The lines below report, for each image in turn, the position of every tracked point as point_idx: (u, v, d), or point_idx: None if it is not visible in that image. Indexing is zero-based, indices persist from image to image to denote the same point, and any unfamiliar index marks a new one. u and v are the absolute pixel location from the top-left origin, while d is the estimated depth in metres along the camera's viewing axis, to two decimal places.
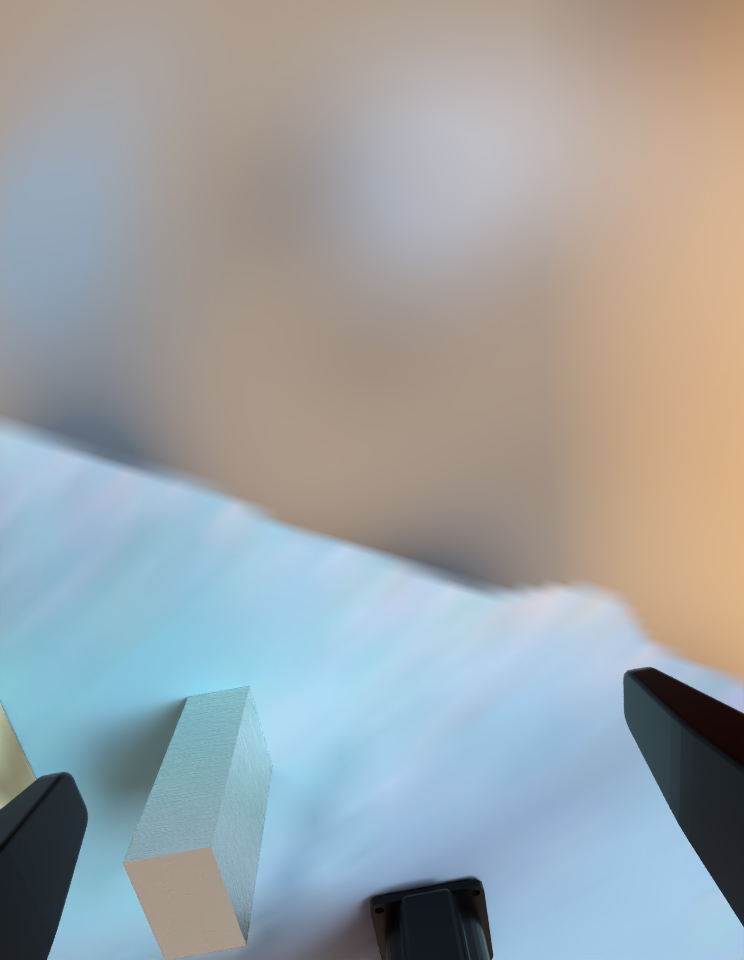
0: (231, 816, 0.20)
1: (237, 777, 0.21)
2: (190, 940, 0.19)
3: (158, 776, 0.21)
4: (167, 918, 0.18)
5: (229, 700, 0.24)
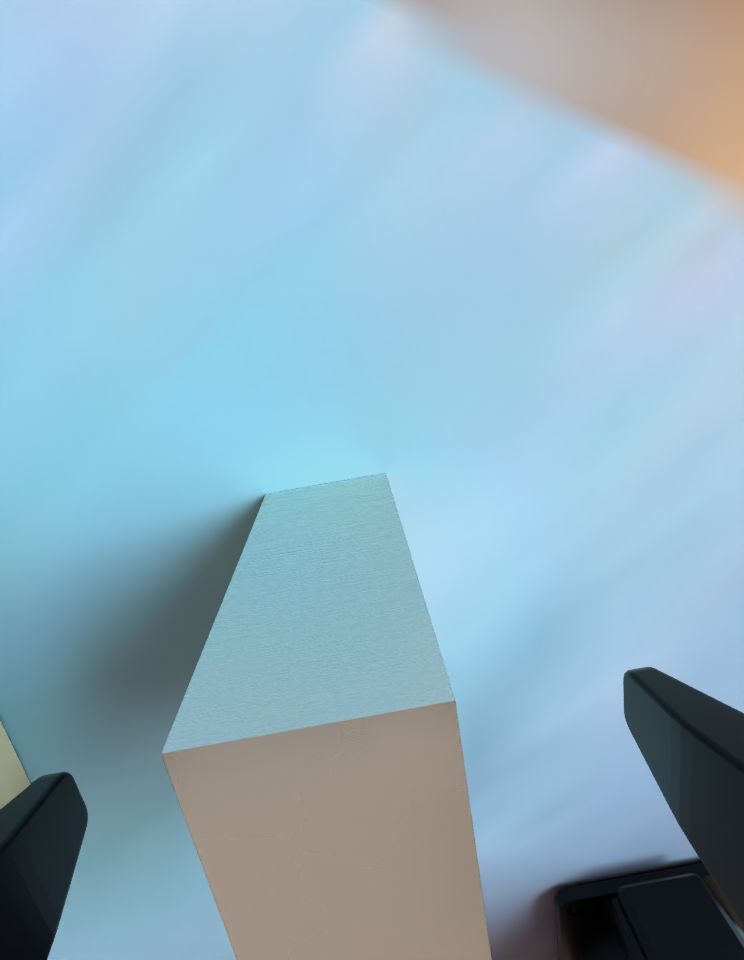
0: None
1: None
2: None
3: (233, 584, 0.09)
4: (287, 937, 0.06)
5: (353, 488, 0.12)
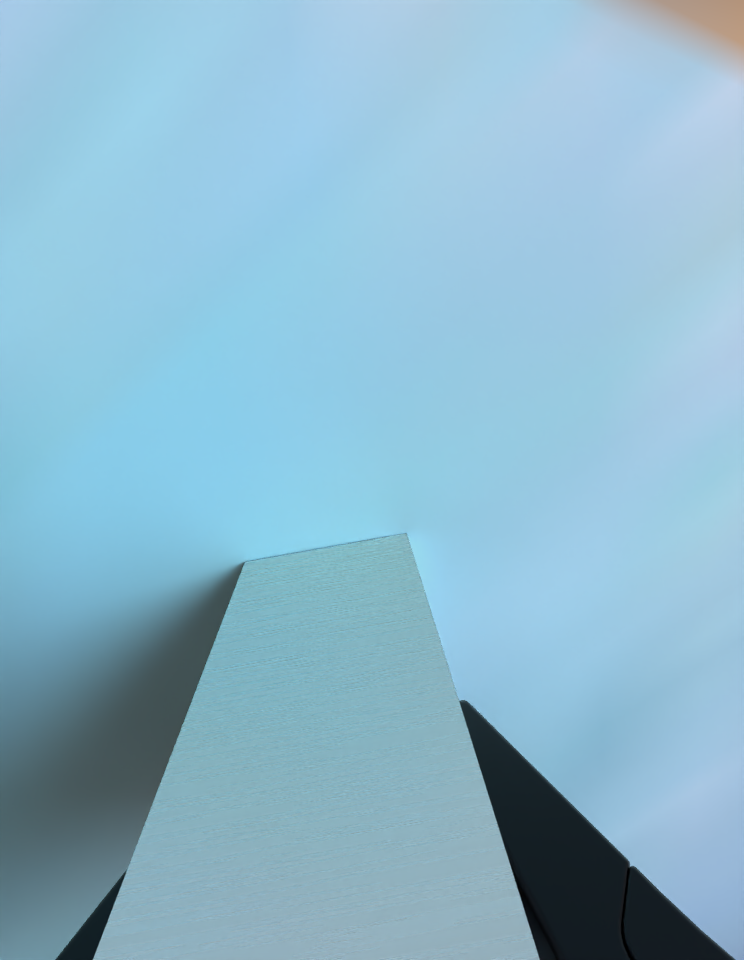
0: None
1: None
2: None
3: (173, 766, 0.05)
4: None
5: (364, 560, 0.09)
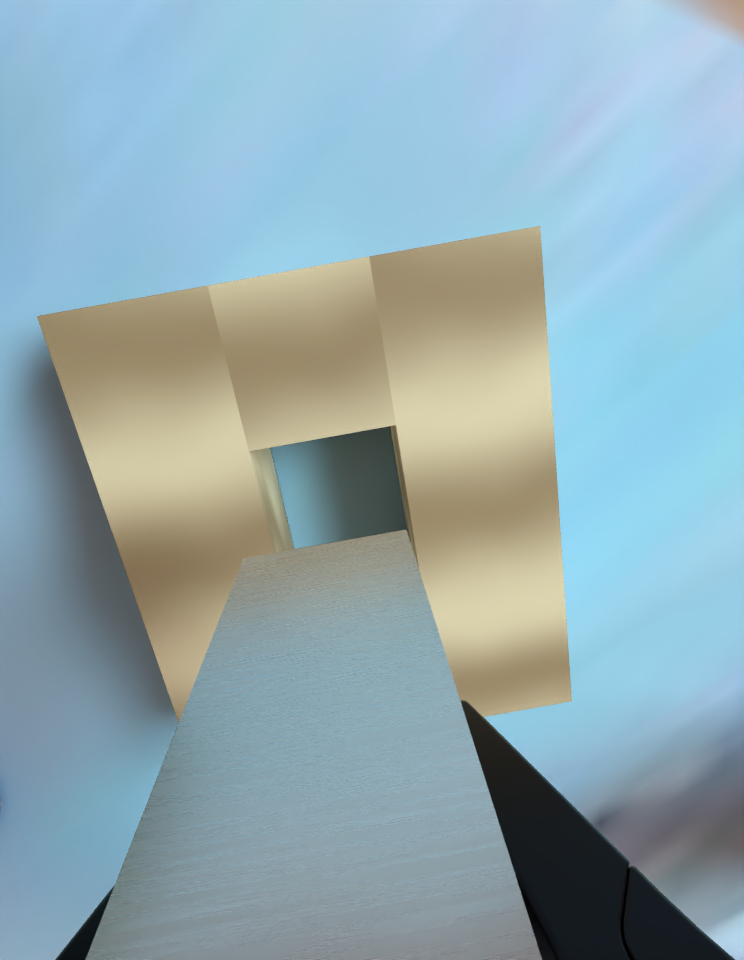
0: None
1: None
2: None
3: (170, 762, 0.05)
4: None
5: (363, 556, 0.09)
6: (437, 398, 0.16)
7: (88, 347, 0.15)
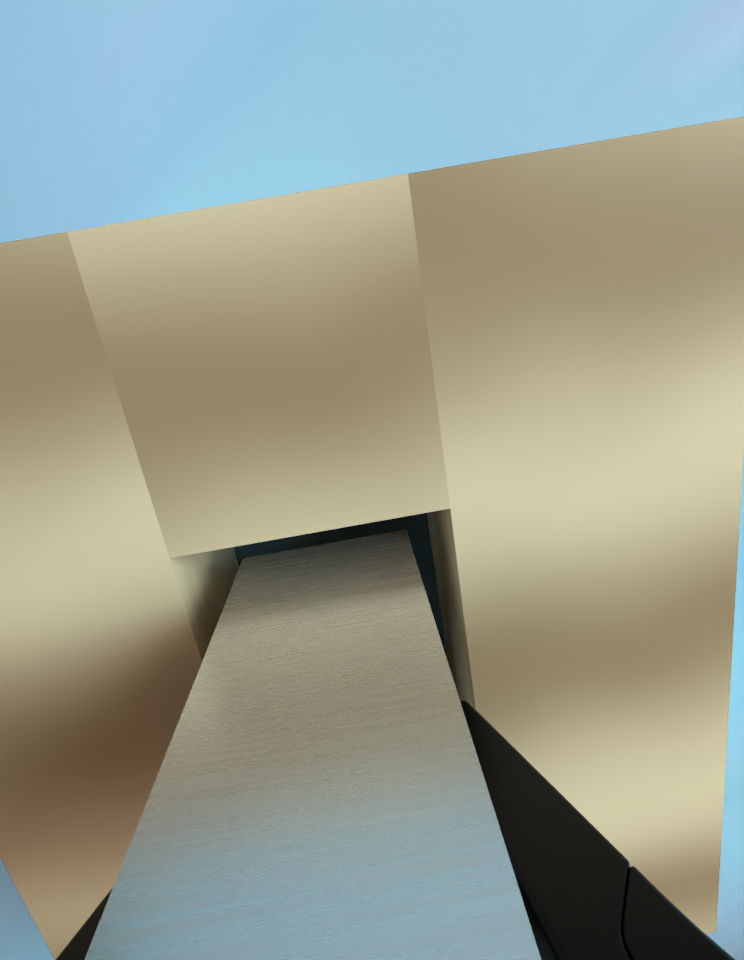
0: None
1: None
2: None
3: (169, 762, 0.05)
4: None
5: (363, 556, 0.09)
6: (531, 460, 0.08)
7: None
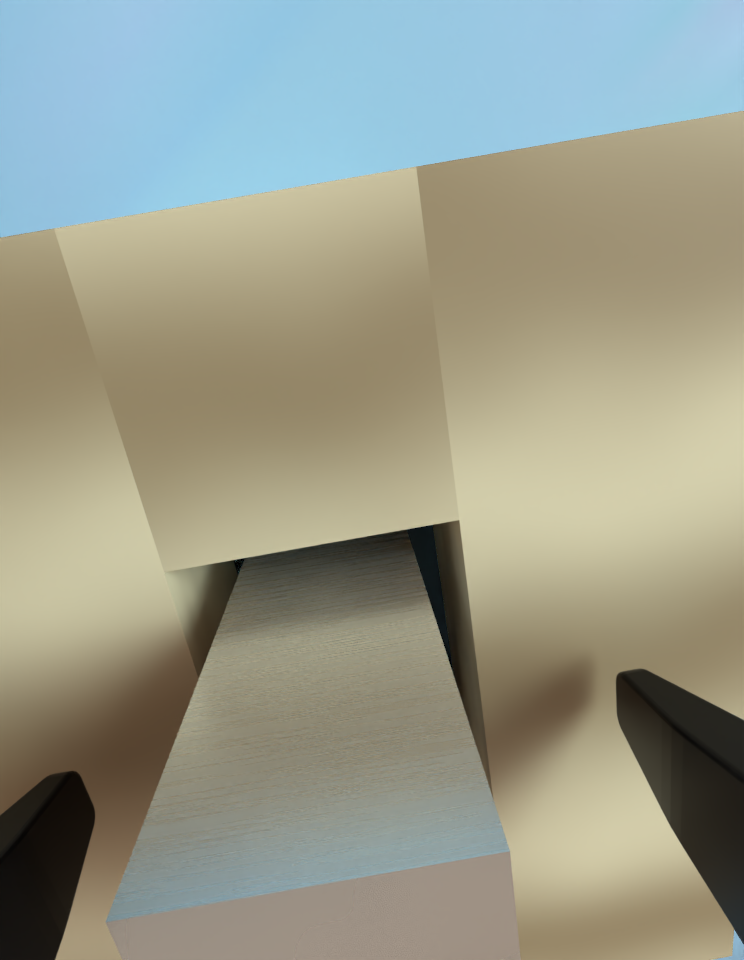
0: None
1: None
2: None
3: (218, 641, 0.07)
4: None
5: None
6: (545, 469, 0.08)
7: None
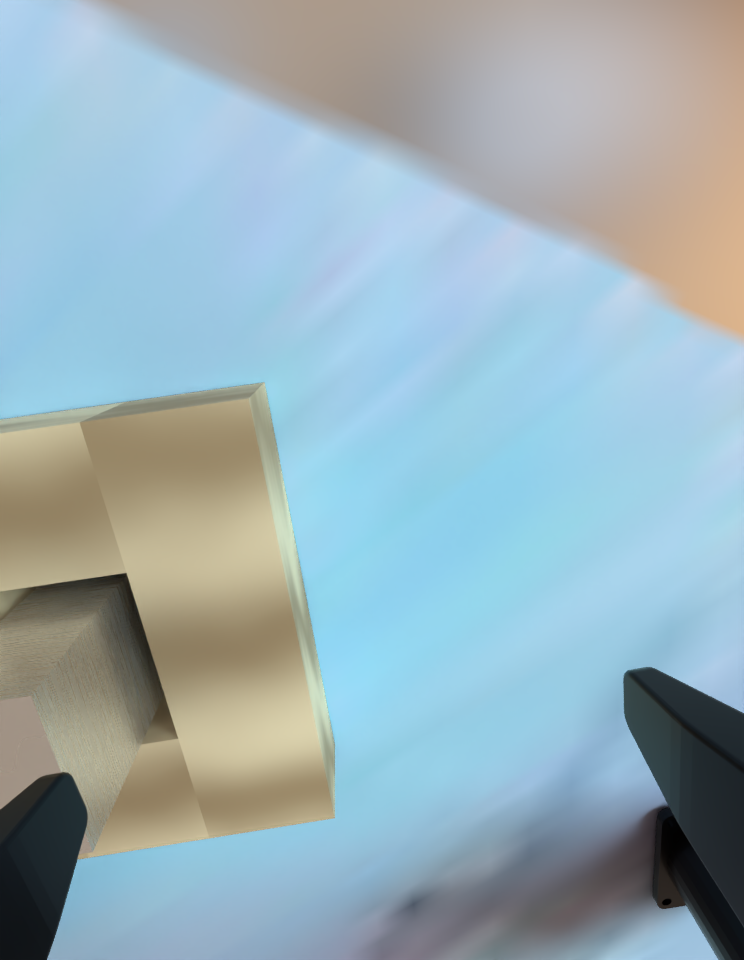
0: (86, 678, 0.14)
1: (107, 637, 0.16)
2: None
3: None
4: None
5: None
6: (165, 550, 0.16)
7: None
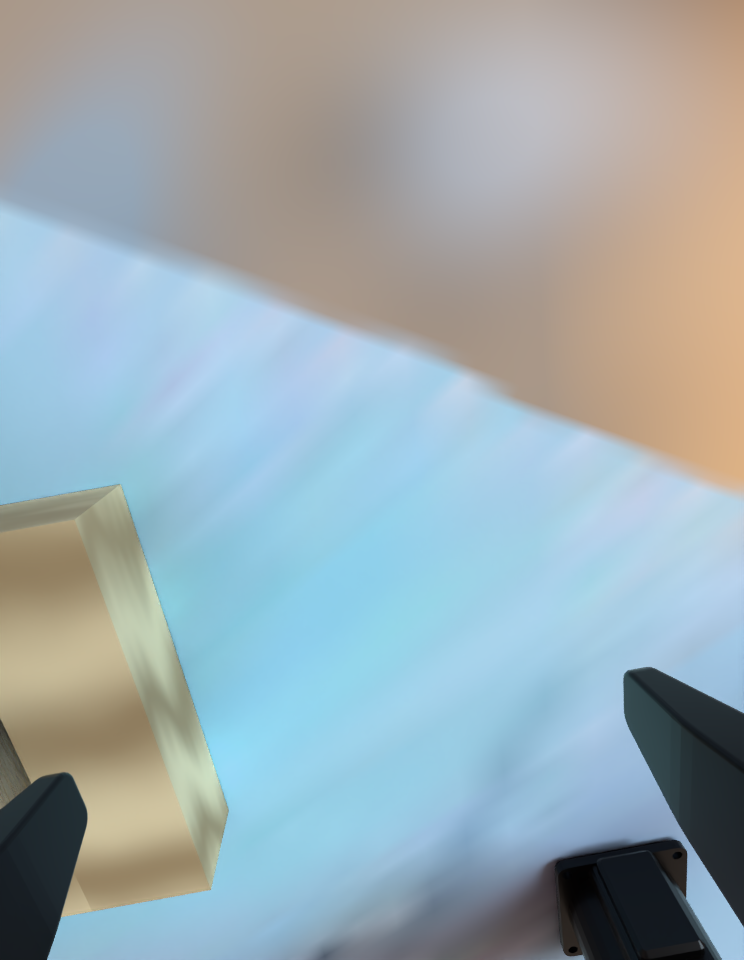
0: None
1: None
2: None
3: None
4: None
5: None
6: (14, 655, 0.17)
7: None
